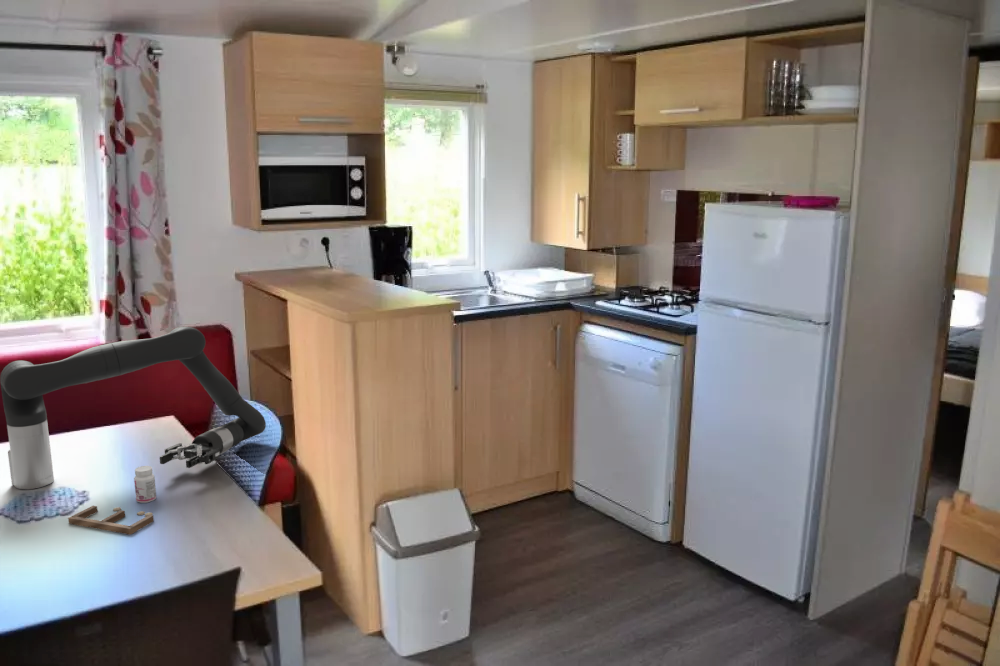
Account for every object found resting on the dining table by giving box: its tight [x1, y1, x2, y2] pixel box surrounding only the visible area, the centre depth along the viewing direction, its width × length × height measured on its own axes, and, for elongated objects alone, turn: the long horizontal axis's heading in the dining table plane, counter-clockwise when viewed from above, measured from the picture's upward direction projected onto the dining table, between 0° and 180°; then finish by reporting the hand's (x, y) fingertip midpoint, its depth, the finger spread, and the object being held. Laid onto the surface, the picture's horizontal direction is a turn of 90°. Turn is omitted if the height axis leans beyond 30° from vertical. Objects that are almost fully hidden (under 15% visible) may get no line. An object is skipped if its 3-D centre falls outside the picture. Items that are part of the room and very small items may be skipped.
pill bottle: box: [133, 465, 157, 504], centre depth 208 cm, size 5×5×8 cm
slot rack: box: [67, 505, 155, 536], centre depth 197 cm, size 18×11×2 cm, turn 71°
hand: (173, 462), depth 218 cm, fingers open, 8 cm apart
